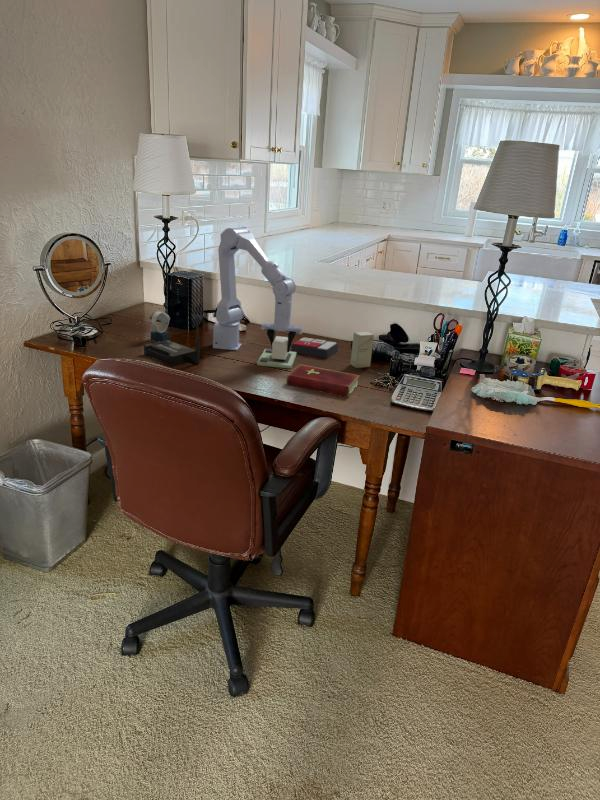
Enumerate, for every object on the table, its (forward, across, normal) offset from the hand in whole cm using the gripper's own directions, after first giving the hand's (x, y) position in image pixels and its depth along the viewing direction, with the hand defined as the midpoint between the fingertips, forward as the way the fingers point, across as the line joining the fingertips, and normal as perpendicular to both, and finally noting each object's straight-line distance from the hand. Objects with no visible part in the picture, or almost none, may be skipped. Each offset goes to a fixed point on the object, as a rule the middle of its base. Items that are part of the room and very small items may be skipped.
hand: (280, 350), depth 201 cm
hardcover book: (+4, +17, -21) cm, 27 cm away
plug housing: (+2, 0, 0) cm, 2 cm away
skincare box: (+4, +29, +3) cm, 29 cm away
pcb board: (+3, -1, 0) cm, 4 cm away
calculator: (+4, +11, +14) cm, 19 cm away
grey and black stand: (+4, -36, -10) cm, 38 cm away
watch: (+4, -48, +9) cm, 49 cm away
